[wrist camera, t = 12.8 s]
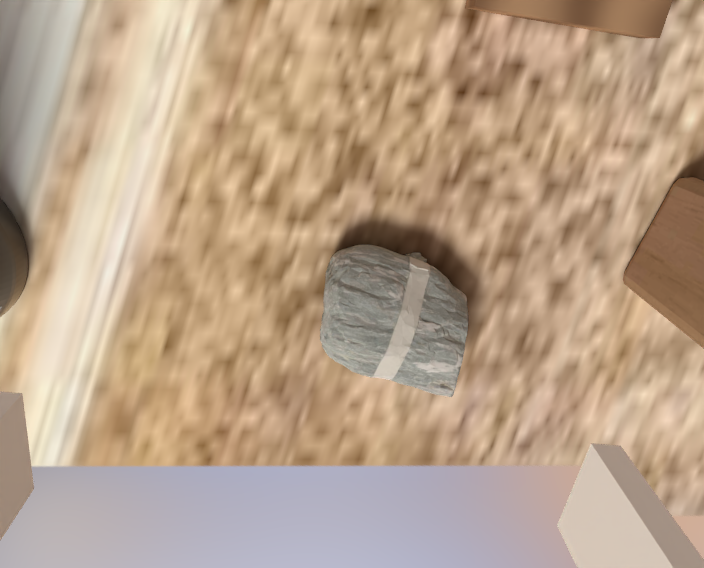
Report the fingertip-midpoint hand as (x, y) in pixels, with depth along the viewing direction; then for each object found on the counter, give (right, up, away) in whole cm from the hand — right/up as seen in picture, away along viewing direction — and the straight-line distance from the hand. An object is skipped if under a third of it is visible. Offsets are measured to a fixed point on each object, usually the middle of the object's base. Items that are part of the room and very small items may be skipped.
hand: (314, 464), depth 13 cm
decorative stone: (+4, +2, +34) cm, 35 cm away
